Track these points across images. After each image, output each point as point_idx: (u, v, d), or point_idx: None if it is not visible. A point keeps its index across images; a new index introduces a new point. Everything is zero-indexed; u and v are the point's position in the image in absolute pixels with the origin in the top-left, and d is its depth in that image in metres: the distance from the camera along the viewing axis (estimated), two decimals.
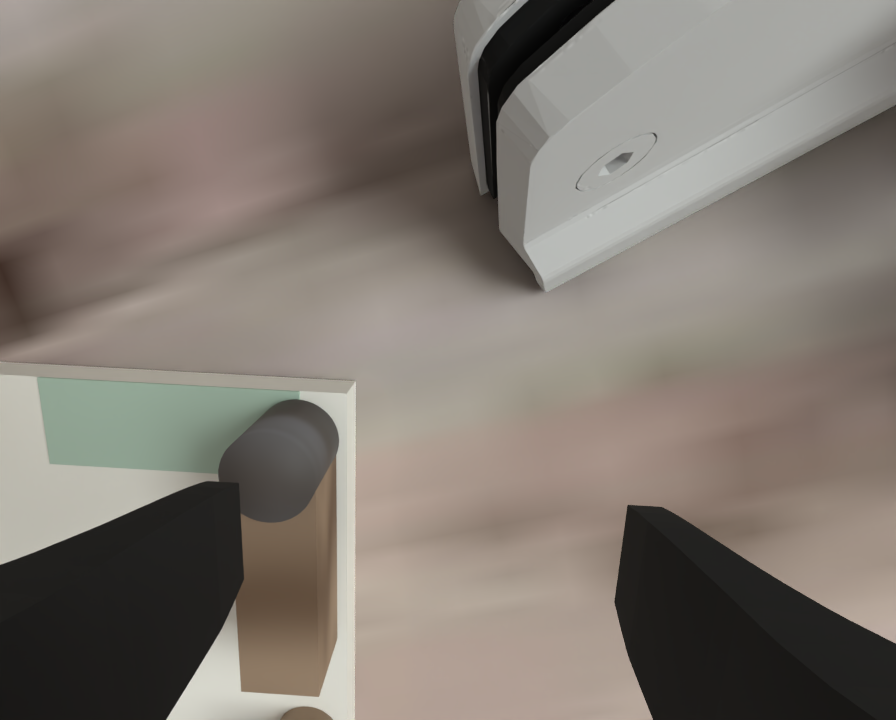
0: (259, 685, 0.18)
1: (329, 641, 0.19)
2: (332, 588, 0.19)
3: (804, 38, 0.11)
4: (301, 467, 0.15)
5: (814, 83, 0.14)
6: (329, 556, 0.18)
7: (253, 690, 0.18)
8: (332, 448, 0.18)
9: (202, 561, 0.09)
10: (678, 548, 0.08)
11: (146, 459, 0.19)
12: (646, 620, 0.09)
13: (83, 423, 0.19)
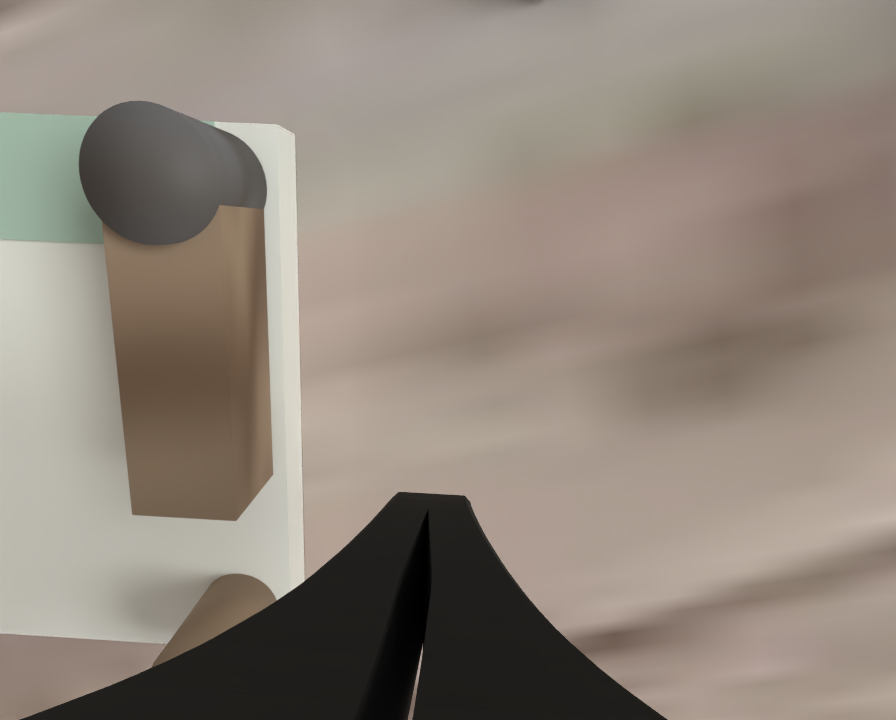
0: (156, 505, 0.13)
1: (256, 462, 0.14)
2: (261, 393, 0.15)
3: None
4: (195, 154, 0.11)
5: None
6: (253, 339, 0.14)
7: (148, 512, 0.13)
8: (253, 181, 0.13)
9: (422, 574, 0.09)
10: (429, 533, 0.08)
11: (18, 225, 0.15)
12: (424, 607, 0.09)
13: None
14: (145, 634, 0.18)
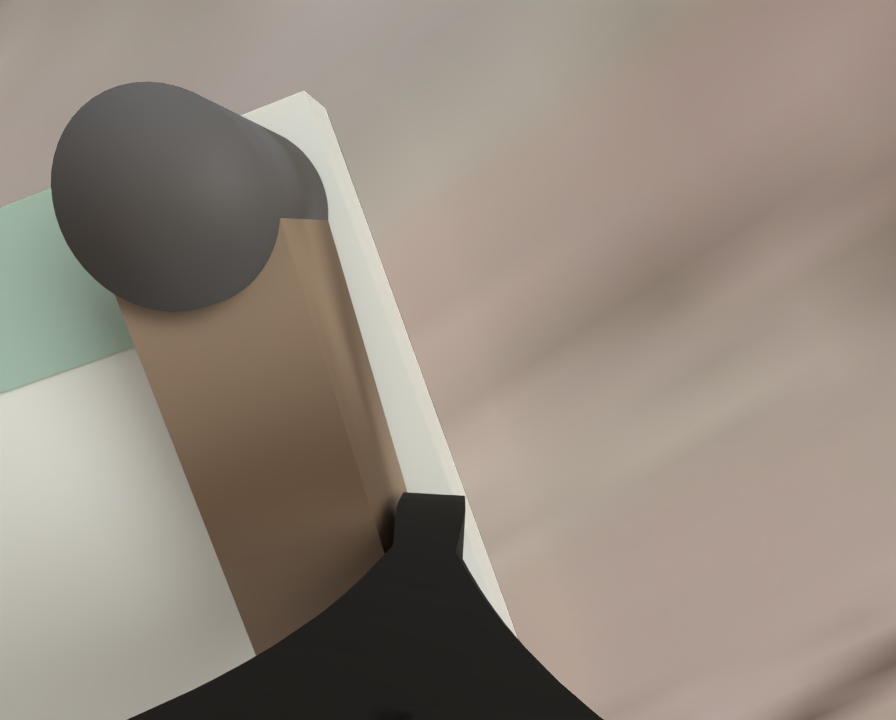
0: None
1: None
2: (393, 474, 0.10)
3: None
4: (224, 146, 0.07)
5: None
6: (367, 404, 0.09)
7: None
8: (308, 178, 0.09)
9: None
10: None
11: (31, 361, 0.11)
12: None
13: None
14: None
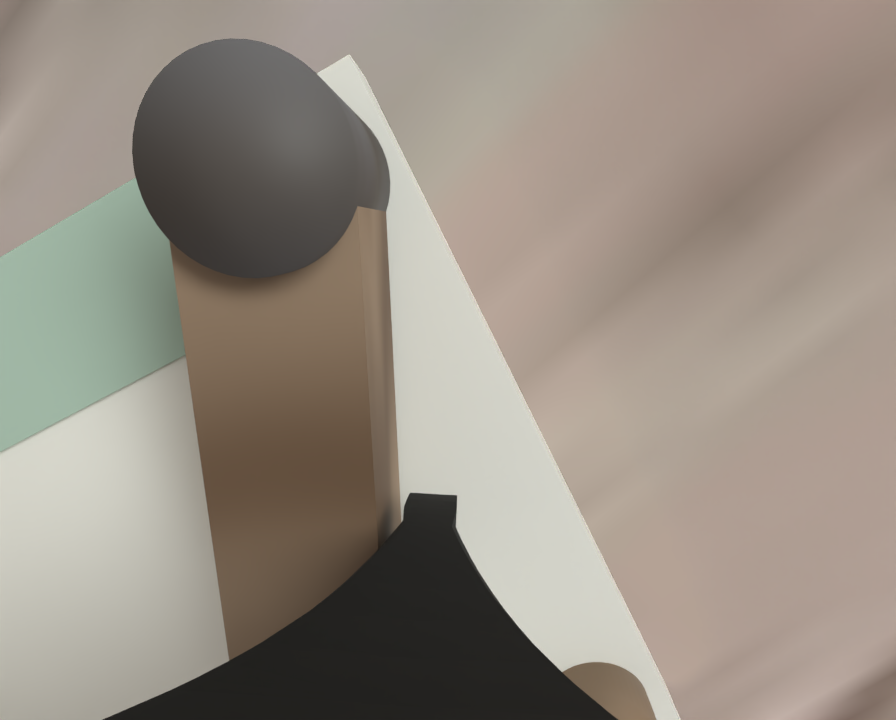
0: None
1: None
2: (393, 475, 0.10)
3: None
4: (324, 123, 0.07)
5: None
6: (386, 402, 0.09)
7: None
8: (381, 168, 0.09)
9: None
10: (402, 532, 0.08)
11: (109, 371, 0.11)
12: None
13: None
14: None
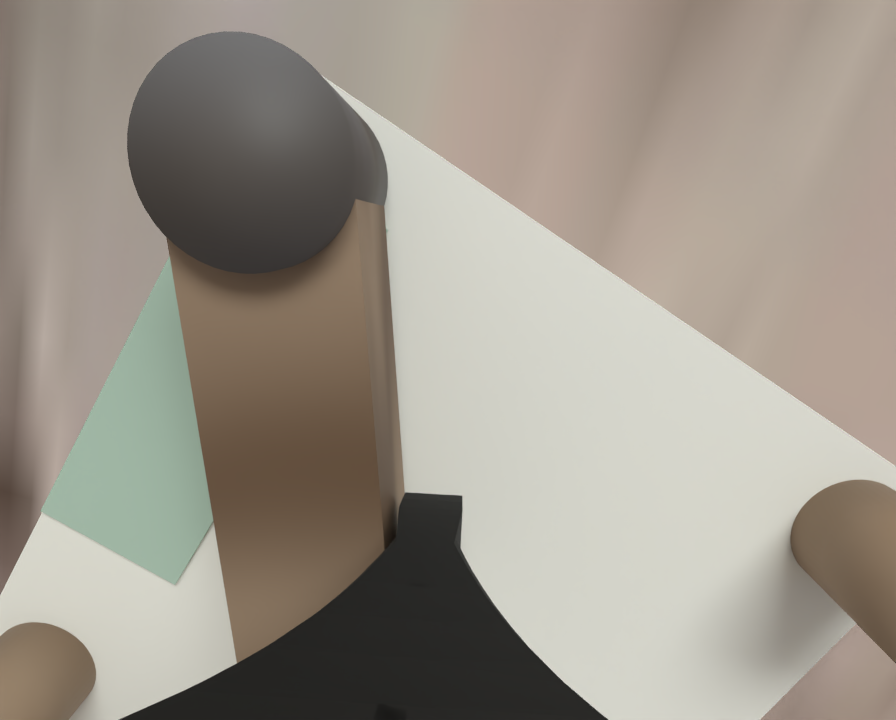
0: None
1: None
2: (397, 471, 0.10)
3: None
4: (320, 115, 0.07)
5: None
6: (389, 398, 0.09)
7: None
8: (379, 162, 0.09)
9: None
10: None
11: None
12: None
13: (135, 498, 0.11)
14: (792, 668, 0.12)
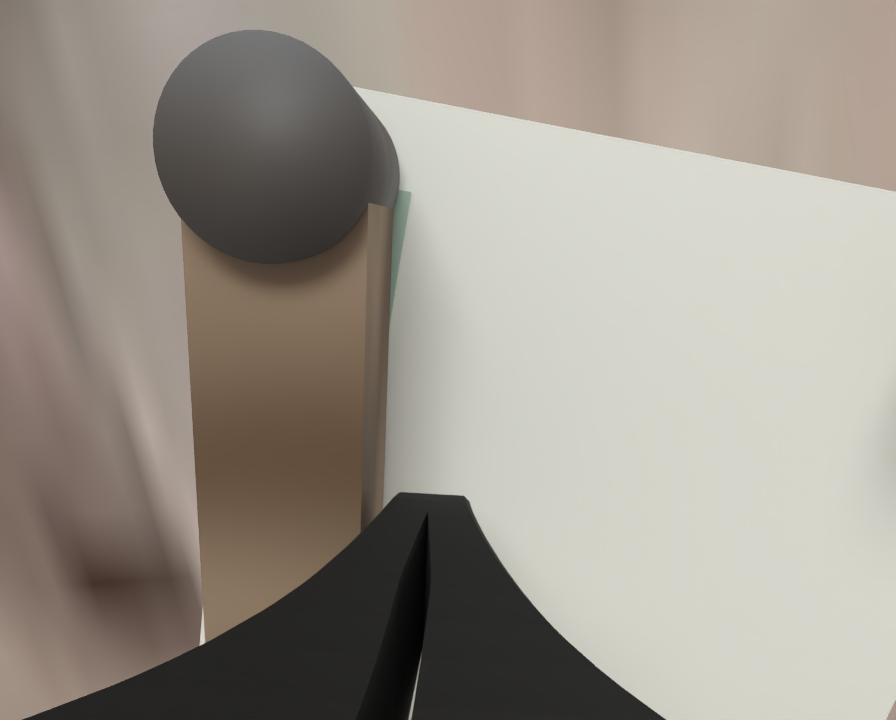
0: None
1: None
2: (379, 466, 0.10)
3: None
4: (343, 120, 0.07)
5: None
6: (379, 395, 0.10)
7: None
8: (393, 167, 0.09)
9: (422, 575, 0.09)
10: (428, 533, 0.08)
11: None
12: (424, 607, 0.09)
13: None
14: None
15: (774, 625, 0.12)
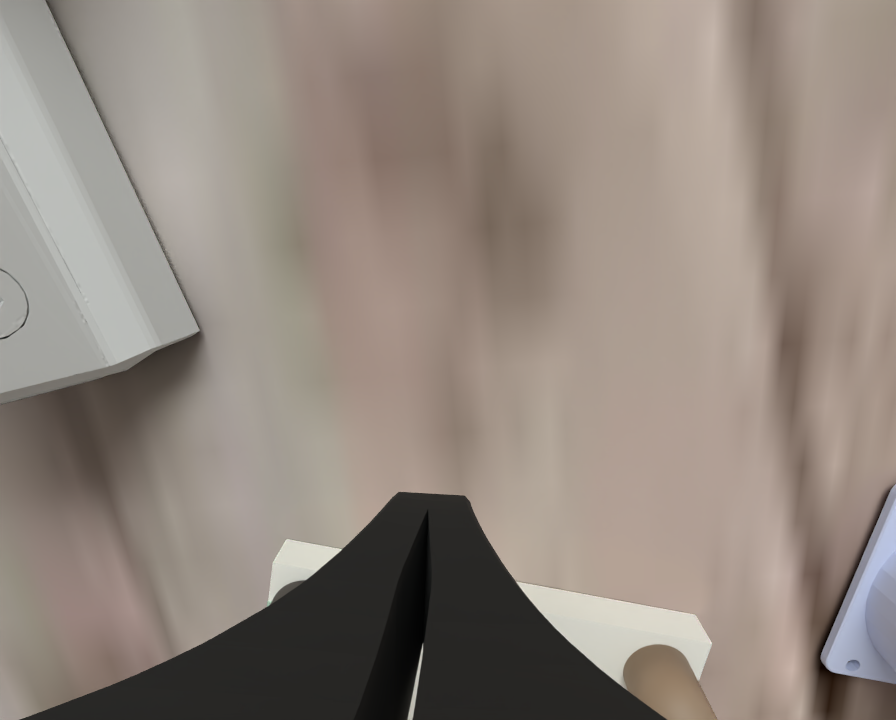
0: None
1: None
2: None
3: None
4: None
5: None
6: None
7: None
8: None
9: (421, 575, 0.09)
10: (429, 533, 0.08)
11: None
12: (425, 607, 0.09)
13: None
14: None
15: None
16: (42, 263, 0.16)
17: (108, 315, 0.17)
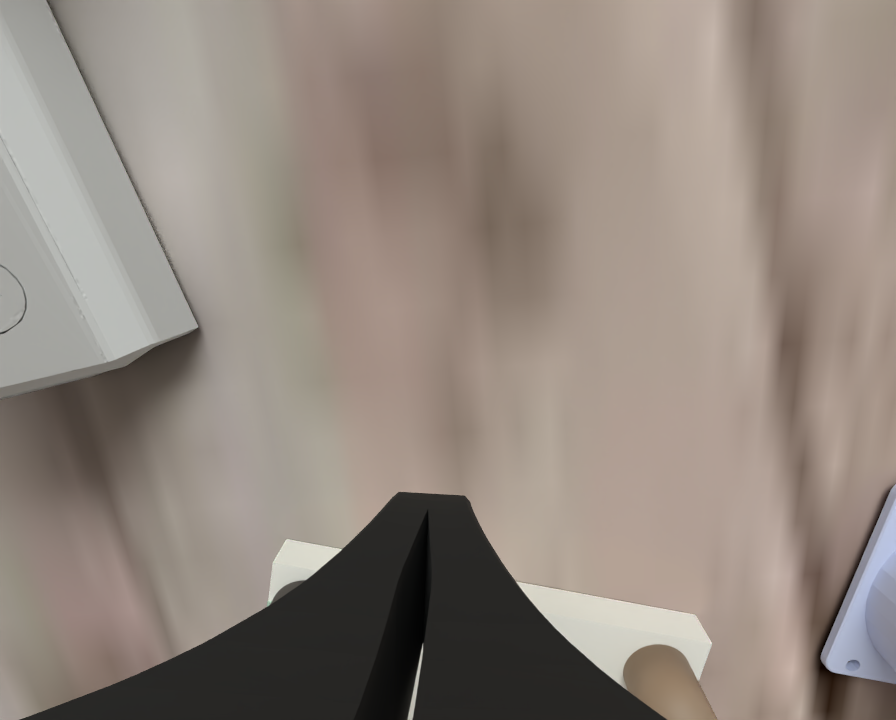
0: None
1: None
2: None
3: None
4: None
5: None
6: None
7: None
8: None
9: (421, 575, 0.09)
10: (429, 533, 0.08)
11: None
12: (425, 607, 0.09)
13: None
14: None
15: None
16: (40, 258, 0.16)
17: (106, 311, 0.17)
